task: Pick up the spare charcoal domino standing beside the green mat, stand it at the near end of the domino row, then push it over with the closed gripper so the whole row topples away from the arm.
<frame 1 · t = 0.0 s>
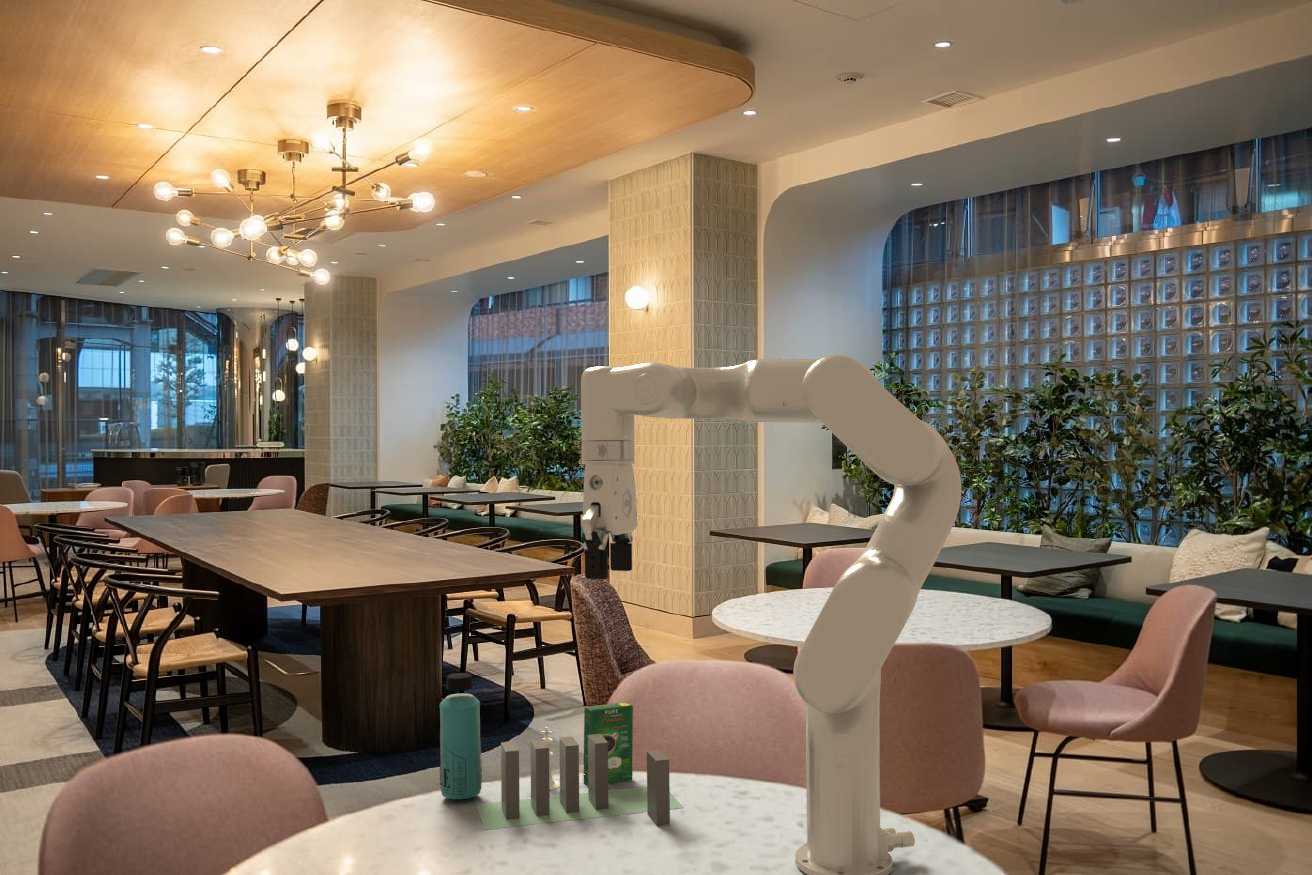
hand: (609, 574, 147), 37 cm above the table, tool pointing down, fingers open, 9 cm apart
domino 2: (569, 806, 158), point 1 cm above the table, touching mat
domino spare: (658, 823, 152), on the table
domino 1: (598, 803, 159), point 1 cm above the table, touching mat
beverage bottle: (460, 803, 162), on the table
coffee box: (608, 786, 170), on the table
mat: (579, 809, 158), on the table
domino 3: (540, 810, 156), point 1 cm above the table, touching mat
chess piece: (547, 790, 168), on the table
domino 4: (510, 813, 155), point 1 cm above the table, touching mat
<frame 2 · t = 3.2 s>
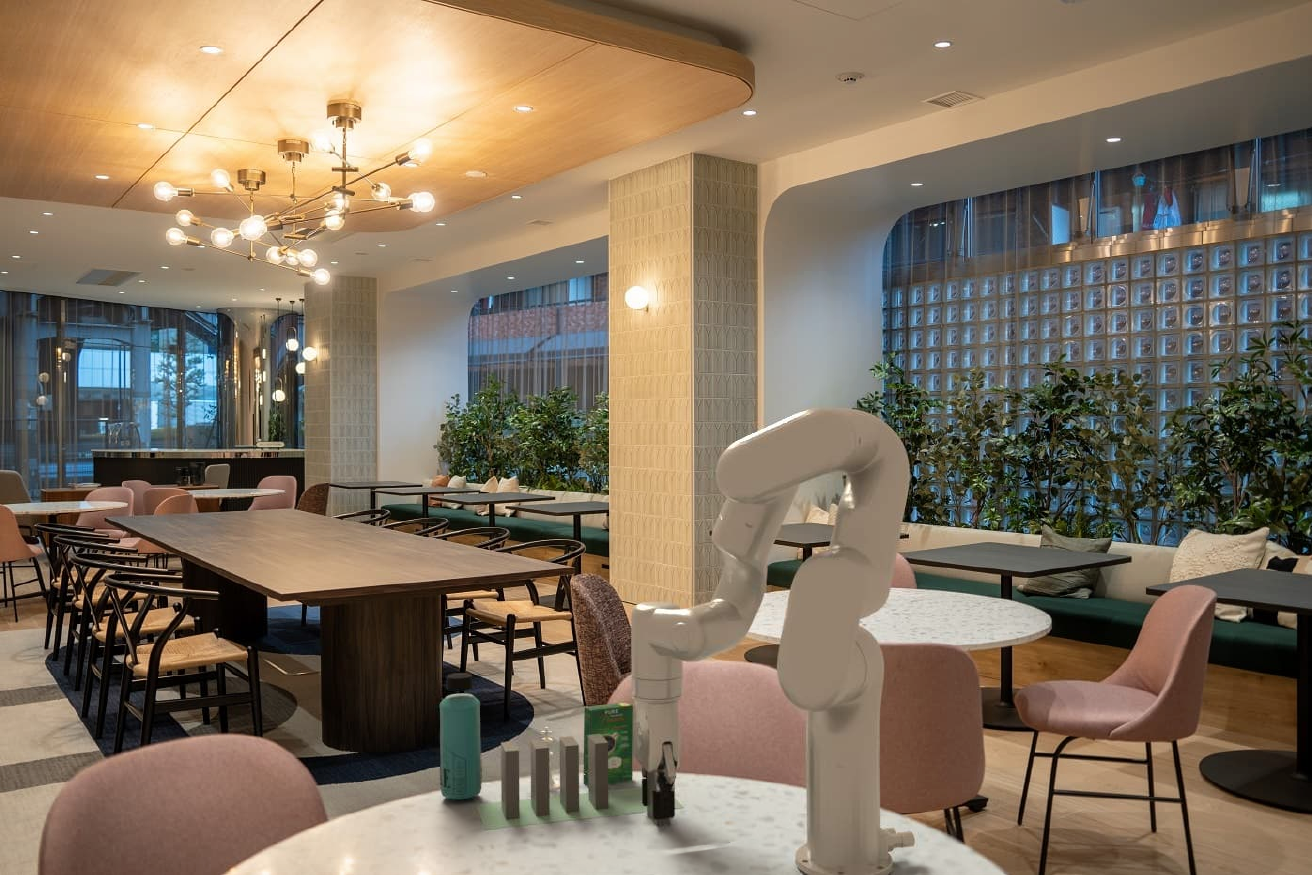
hand: (658, 809, 152), 2 cm above the table, tool pointing down, fingers closed on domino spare, 4 cm apart
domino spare: (658, 823, 152), on the table, touching gripper
everything else where it was.
when the fingers open (3 cm above the table, at t = 7.8 s): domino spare stays where it is, resting on mat.
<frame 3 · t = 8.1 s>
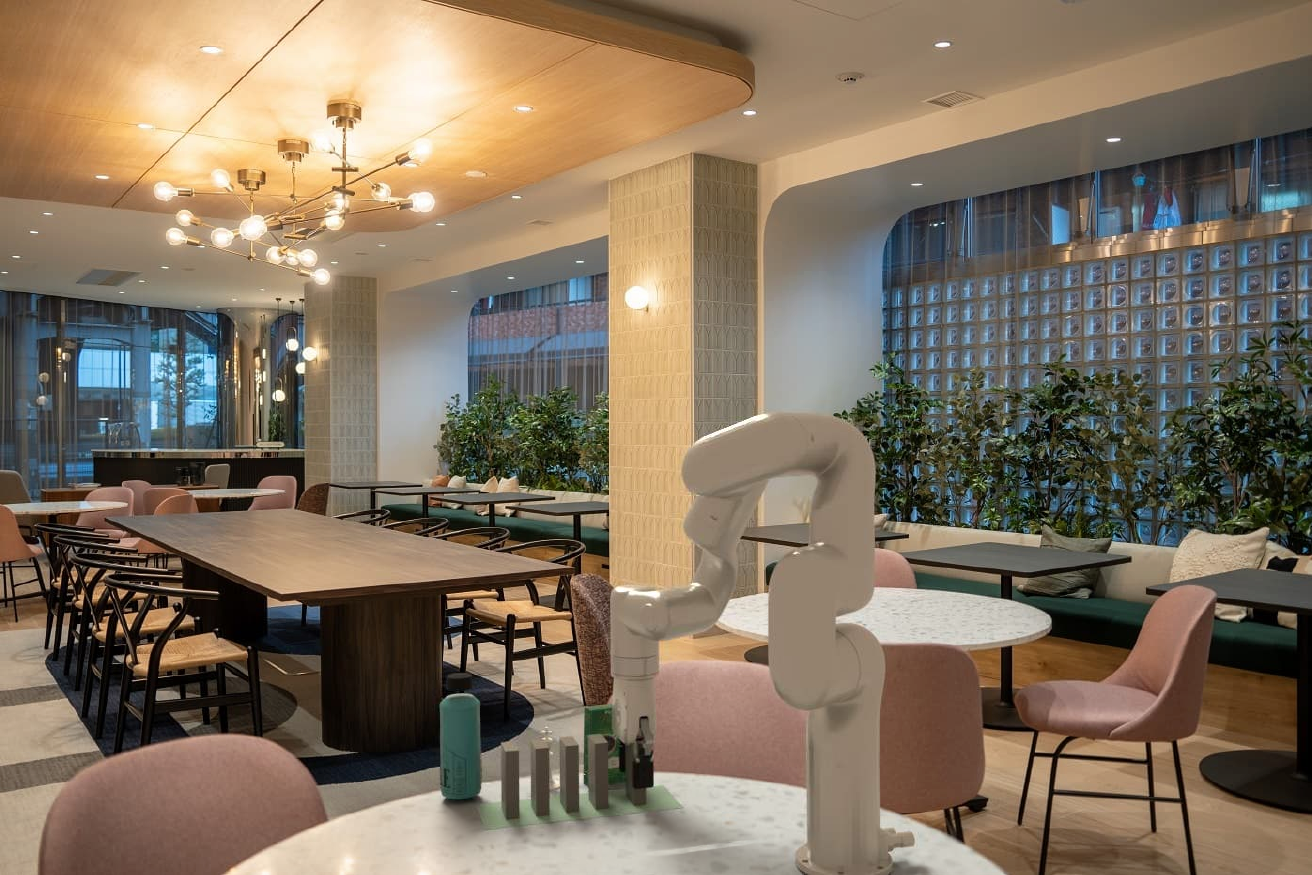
hand: (635, 778, 161), 4 cm above the table, tool pointing down, fingers open, 7 cm apart
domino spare: (635, 799, 160), point 1 cm above the table, touching mat
everything else where it was.
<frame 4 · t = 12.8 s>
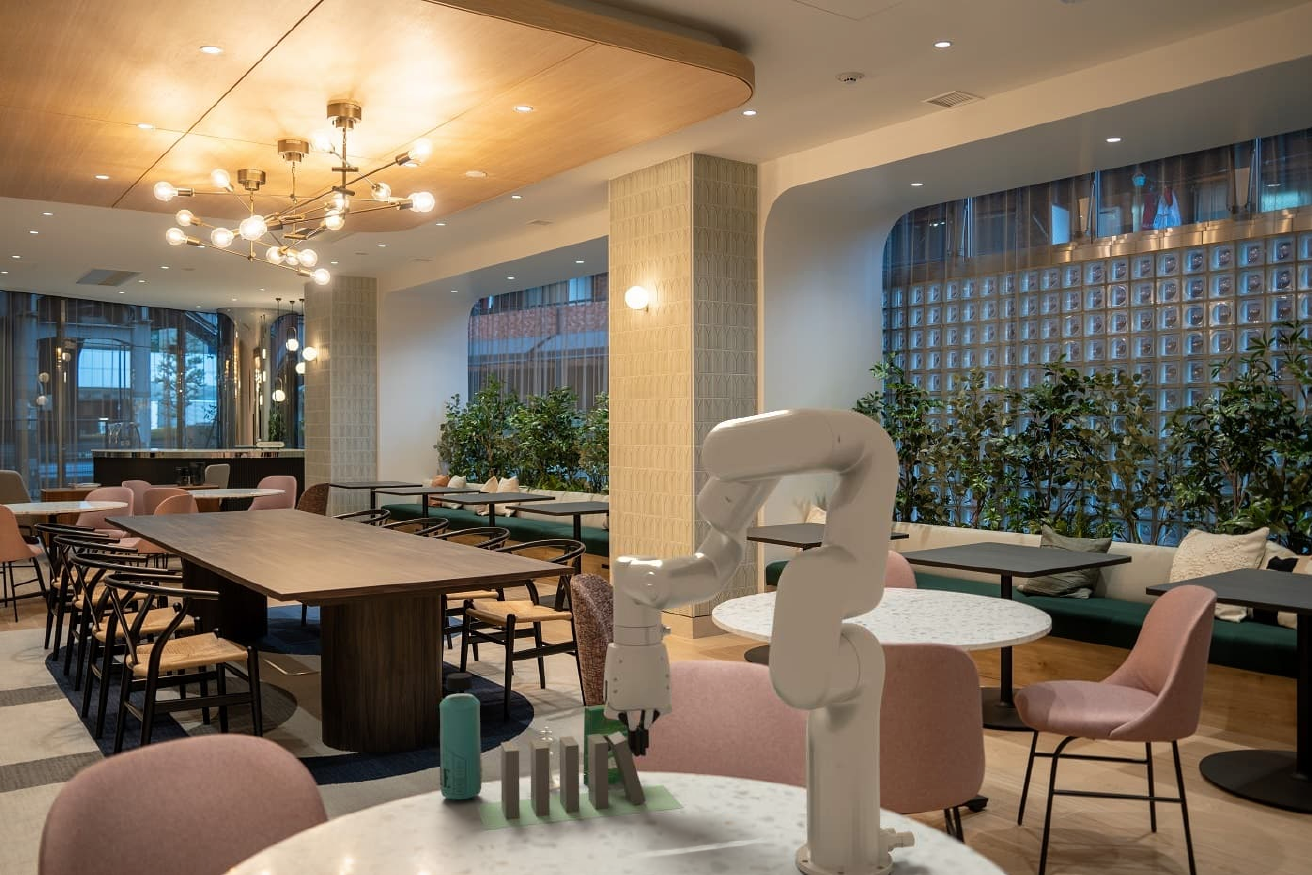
hand: (638, 753, 161), 8 cm above the table, tool pointing down, fingers closed
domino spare: (635, 798, 160), point 1 cm above the table, tilted 17°, touching mat
everything else where it was.
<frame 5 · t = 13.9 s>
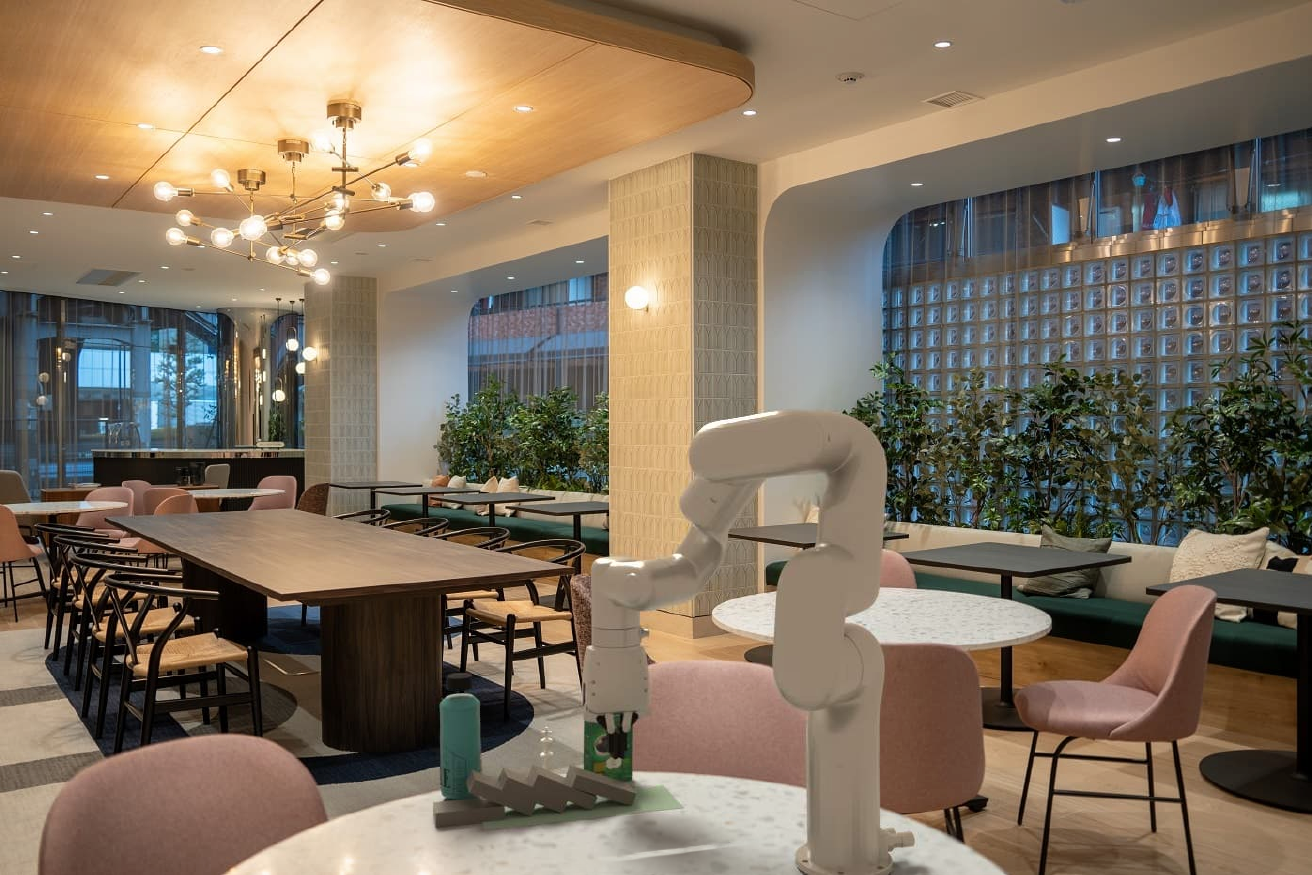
hand: (617, 756, 160), 8 cm above the table, tool pointing down, fingers closed
domino 2: (562, 801, 157), point 1 cm above the table, tilted 64°, touching domino 1, domino 3, mat
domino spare: (630, 794, 160), point 2 cm above the table, tilted 68°, touching domino 1, mat
domino 1: (591, 798, 159), point 1 cm above the table, tilted 64°, touching domino 2, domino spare
domino 3: (531, 804, 156), point 2 cm above the table, tilted 64°, touching domino 2, domino 4
domino 4: (502, 807, 155), point 2 cm above the table, tilted 90°, touching domino 3, mat
everything else where it was.
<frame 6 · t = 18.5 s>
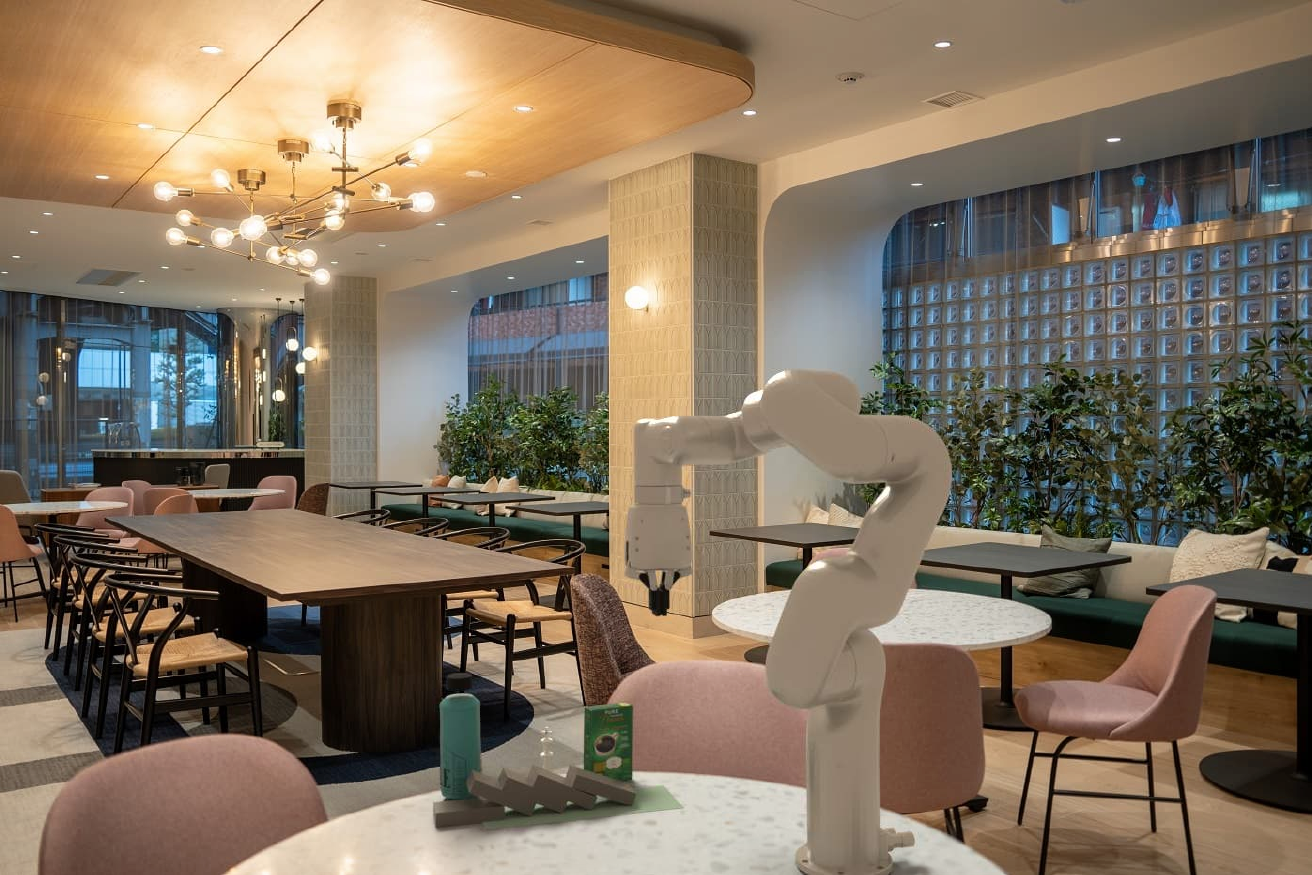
hand: (659, 614, 162), 29 cm above the table, tool pointing down, fingers closed
nothing on the table moved.
at the end: domino 4 tilted 90°; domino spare tilted 68°; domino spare inside the target area (1.0 cm from its centre), point 1.5 cm above the table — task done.
